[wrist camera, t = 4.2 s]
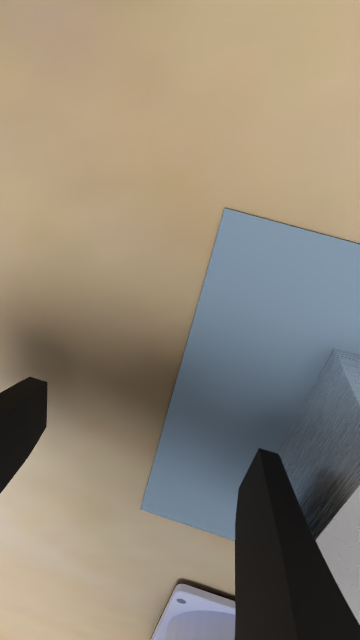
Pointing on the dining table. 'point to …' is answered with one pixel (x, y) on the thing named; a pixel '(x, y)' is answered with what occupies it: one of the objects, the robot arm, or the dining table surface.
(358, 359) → the aluminium block
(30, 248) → the dining table surface
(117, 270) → the dining table surface
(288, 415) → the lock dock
